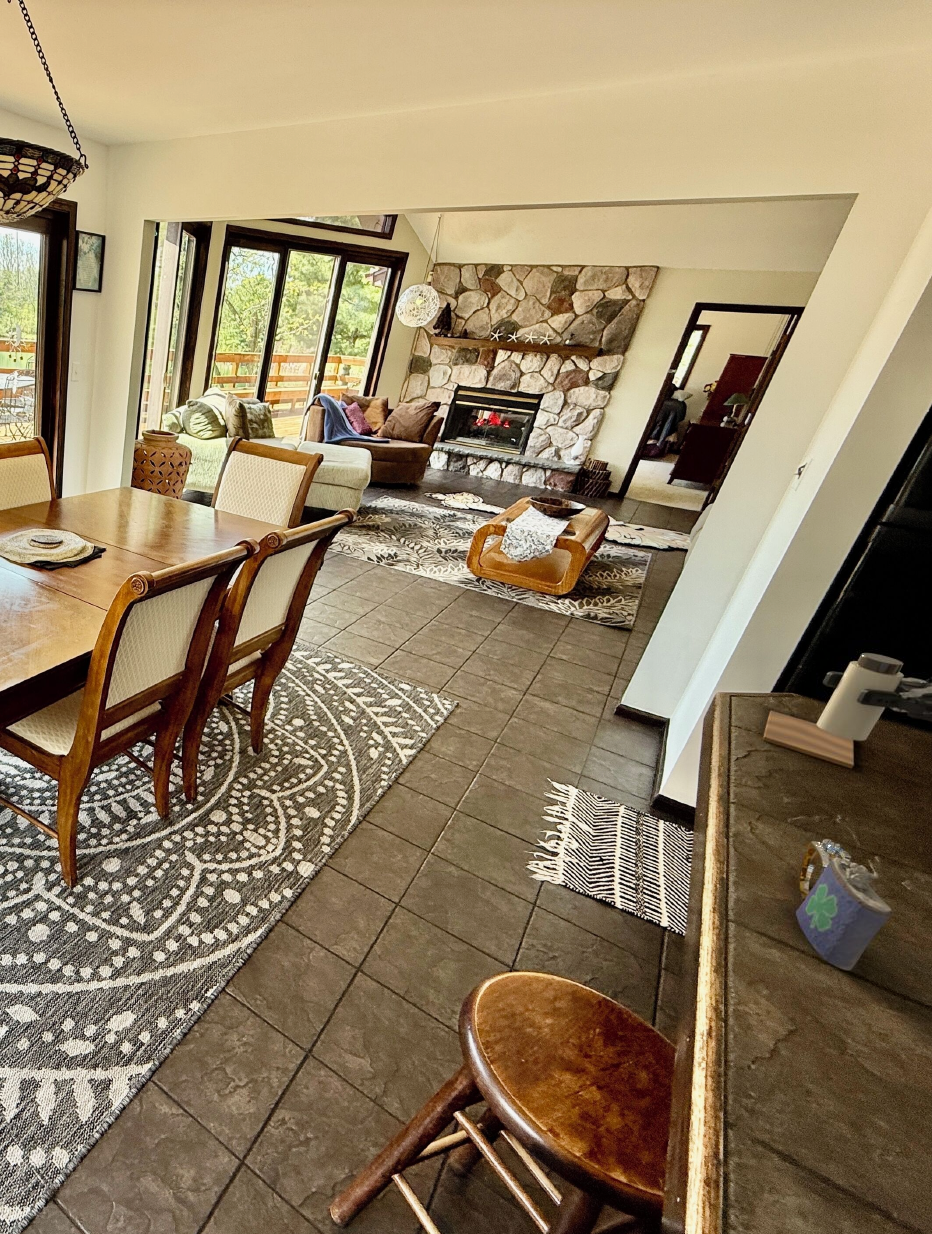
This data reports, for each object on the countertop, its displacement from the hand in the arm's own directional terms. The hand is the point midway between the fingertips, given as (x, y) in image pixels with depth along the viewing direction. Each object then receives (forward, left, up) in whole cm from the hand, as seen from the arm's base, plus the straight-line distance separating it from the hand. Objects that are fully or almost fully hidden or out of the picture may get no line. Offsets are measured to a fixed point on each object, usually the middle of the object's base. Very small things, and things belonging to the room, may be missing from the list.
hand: (844, 687), depth 95 cm
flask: (+12, +40, -18) cm, 46 cm away
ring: (+10, +31, -18) cm, 37 cm away
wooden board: (-11, -24, -18) cm, 32 cm away
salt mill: (-2, -1, -7) cm, 7 cm away
